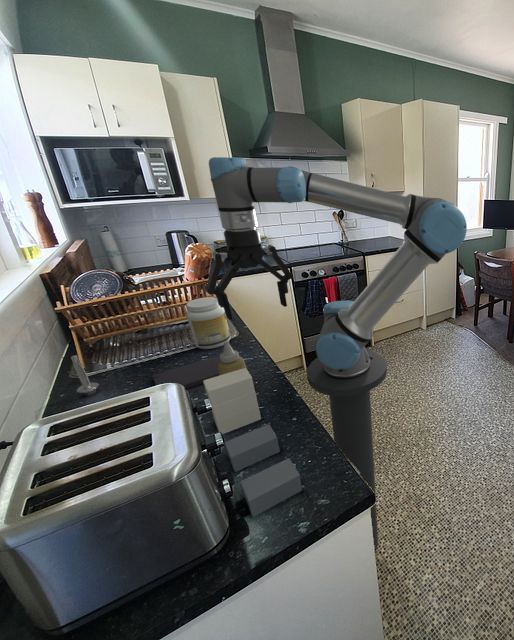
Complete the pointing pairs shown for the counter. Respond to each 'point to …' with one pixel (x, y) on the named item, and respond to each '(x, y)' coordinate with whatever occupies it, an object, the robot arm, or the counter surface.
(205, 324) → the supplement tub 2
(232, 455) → the grey block
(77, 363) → the screw
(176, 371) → the notebook
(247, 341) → the counter surface
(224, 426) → the beige rectangular block
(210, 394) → the tan rectangular block
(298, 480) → the grey beveled block
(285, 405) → the counter surface
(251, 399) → the beige block
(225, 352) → the squeeze bottle
